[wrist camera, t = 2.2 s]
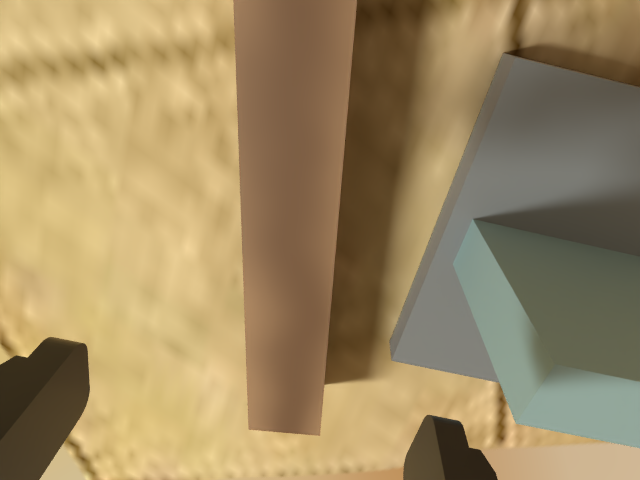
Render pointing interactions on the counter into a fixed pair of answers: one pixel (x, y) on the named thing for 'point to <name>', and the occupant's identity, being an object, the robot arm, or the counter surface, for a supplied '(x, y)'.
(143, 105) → the counter surface
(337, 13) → the walnut bar
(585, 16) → the counter surface
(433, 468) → the robot arm
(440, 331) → the ridge stand
